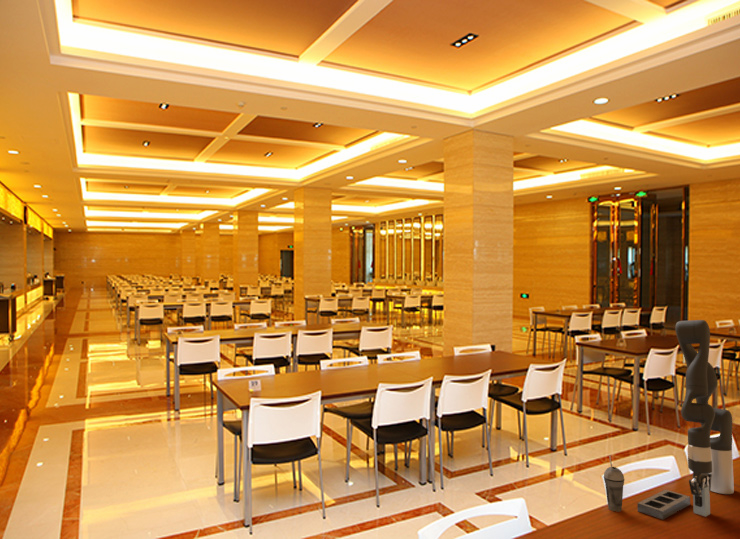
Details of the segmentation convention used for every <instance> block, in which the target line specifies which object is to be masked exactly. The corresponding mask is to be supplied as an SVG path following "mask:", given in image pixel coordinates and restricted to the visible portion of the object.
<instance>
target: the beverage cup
mask: <svg viewBox="0 0 740 539" xmlns="http://www.w3.org/2000/svg"><path fill="white" fill-rule="evenodd" d="M608 457H609V463H610V467H607V468H606V469H605V470H604V473H603V480H604V483H605V493H606V500H607V502H606V503H607V507H608V510H609V511H612V512H615V511H616V512H618V513H620V512H622V509H623V496H624V486H625V476H624V474H623V472H622V470H621V469H619V468H618V467H616V466H613V463H612V456H611V455H610V454H609V456H608Z"/></svg>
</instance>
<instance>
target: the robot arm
mask: <svg viewBox="0 0 740 539" xmlns="http://www.w3.org/2000/svg"><path fill="white" fill-rule="evenodd" d="M674 330H675V334H676V338H677V340H678V341H677V342H678V344H679V347H680V349H681V352H682V354H683V358H684V361H685V364H686V372H685V396H684V400H683V403H682V405H681V406H682V407H681V409H680V413H681V417H682V419H683V420H684V421H686V422H690V423H699V424H700V425H701V426H699V427H691V428H688V429H687V468H688V470H690V471H692V479H689V480H688V484H689V489H690V494H691V495H692V496H693V495H695V505H696V506H699V507H702V491H703V490H704V485H706V486H709V492H710V491H711V492H714V493H716V494H717V493H718V494H723V495H732V494H734V492H735V487H734V486H735V485H734V464H733V463H734V462H733V460H734V459H733V415H732V413H731V412H730V410H727V409H722V408H718V407H713V406H712V405H710V404H709V399H710V398H711V396H712V395H713V394H714V392H715V391H716V389H717V387H718V378H717V375H716V370H715V368H714V366H713V365H712V364H711V363H710V362H709V358H710V357H709V356H710V345H711V331H710V327H709V324H708V322H707V321H706V320H704V319H696V320H695V319H694V320H692V319H691V320H679V321H677V322H676V324H675V329H674ZM693 344H694V345H696V344H697V345H698V344H699V345H698V351H697V350H696V349H695V348H694V347H693ZM693 400H695V402H693ZM711 431H712V432H713V431H715V432H719V435H718V436H715V437H714V436H713V437H711ZM698 486H700V487H701V488H700V487H698ZM699 490H700V492H699Z"/></svg>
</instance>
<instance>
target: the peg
mask: <svg viewBox="0 0 740 539" xmlns="http://www.w3.org/2000/svg"><path fill="white" fill-rule="evenodd" d="M698 487H700V486H698ZM700 488H701V487H700ZM699 492H700V490H699ZM710 499H711V496H710V490H709V486H706V485H704V490H703V491H702V507H699V506H696V505H695V495H692V504H693V505H692V506H693V514H696V515H699V516H702V517H708V516H710V515H711V500H710Z"/></svg>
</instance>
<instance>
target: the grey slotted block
mask: <svg viewBox="0 0 740 539" xmlns="http://www.w3.org/2000/svg"><path fill="white" fill-rule="evenodd" d="M688 506H691V496H689V495H686V494H682V493H679V492H676V491H673V490H669V489H663V490H662V491H660V492H657V493H655V494H653V495H651V496H649V497H647V498H645V499H643V500H640V501H639V502H637V512H639V513H641V514H645V515H648V516H651V517H653V518H656V519H659V520H665V519H666V518H668V517H670V516H672V515H674V514H676V513H678V512H679V510H680V511H682V510H683V509H685V508H686V507H688ZM677 511H678V512H677Z"/></svg>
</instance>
